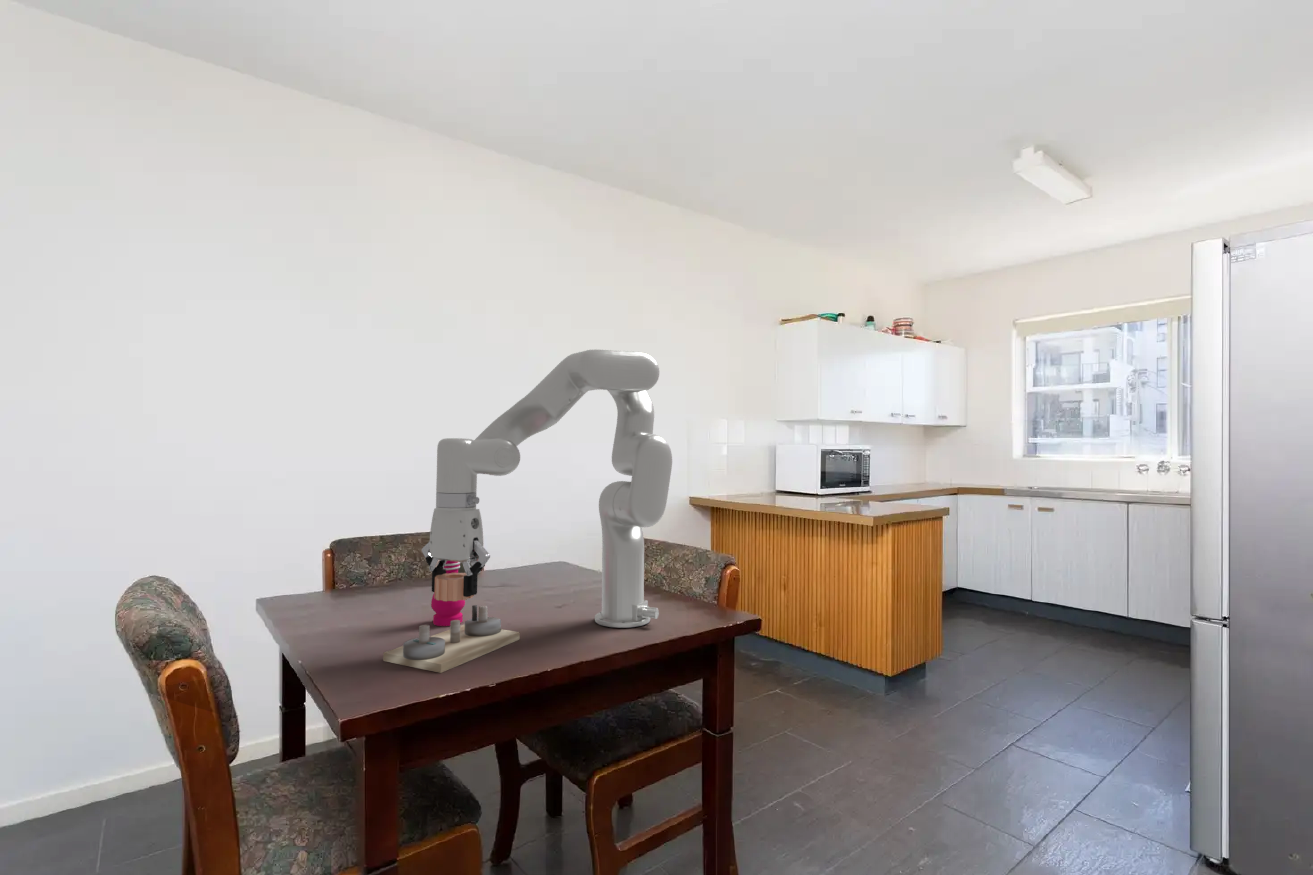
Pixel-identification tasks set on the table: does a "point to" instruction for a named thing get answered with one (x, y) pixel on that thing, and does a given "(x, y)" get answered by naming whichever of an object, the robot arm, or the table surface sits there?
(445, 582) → the gear
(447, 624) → the pepper mill
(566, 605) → the table surface
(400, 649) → the board
